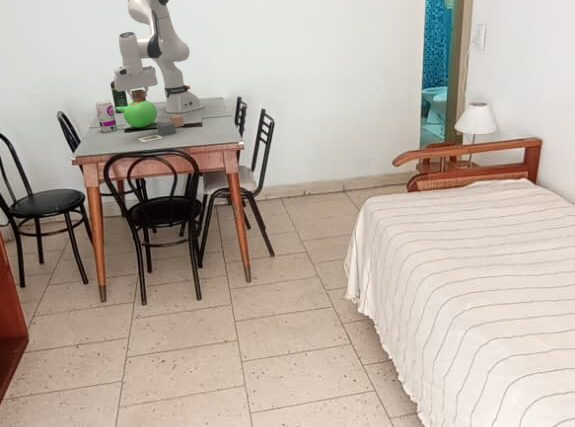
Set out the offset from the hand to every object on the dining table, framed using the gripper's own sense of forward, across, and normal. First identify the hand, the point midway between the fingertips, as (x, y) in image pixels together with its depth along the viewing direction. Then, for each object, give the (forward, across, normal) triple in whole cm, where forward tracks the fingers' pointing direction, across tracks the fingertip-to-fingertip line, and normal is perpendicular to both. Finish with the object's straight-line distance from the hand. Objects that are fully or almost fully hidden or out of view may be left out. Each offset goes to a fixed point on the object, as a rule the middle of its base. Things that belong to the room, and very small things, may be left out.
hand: (139, 97), depth 254 cm
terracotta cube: (+19, -19, -6) cm, 28 cm away
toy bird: (+19, -4, -20) cm, 28 cm away
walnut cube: (+2, 0, 0) cm, 2 cm away
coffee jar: (+19, -6, -69) cm, 72 cm away
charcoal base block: (+19, -9, +5) cm, 22 cm away
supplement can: (+19, +12, -26) cm, 34 cm away
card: (+19, +1, +9) cm, 21 cm away
